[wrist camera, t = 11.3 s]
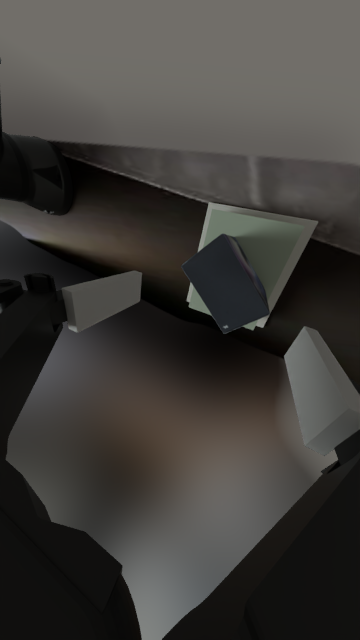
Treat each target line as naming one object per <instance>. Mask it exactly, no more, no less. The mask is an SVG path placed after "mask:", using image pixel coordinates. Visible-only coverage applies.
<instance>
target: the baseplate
mask: <svg viewBox="0 0 360 640" xmlns="http://www.w3.org/2000/svg"><path fill="white" fill-rule="evenodd" d="M212 209H215V210H221V211H226V212H232V213H237V214H242V215H248V216H253V217H259V218H264V219H270V220H275V221H280V222H286V223H291V224H297V225H302V226H305V227H304V229H303V231H302V233H301V235H300V237H299V239H298V241H297V243H296V245H295V247H294V249H293V251H292V253H291V255H290V257H289V259H288V261H287V263H286V265H285V267H284V269H283V271H282V273H281V275H280V277H279V279H278V281H277V283H276V285H275V287H274V289H273V291H272V293H271V295H270V297H269V299H268V306H269V311H270V313H271V311H272V309H273V308H274V306H275V304H276V302H277V300H278V298H279V296H280V294H281V292H282V290H283V288H284V287H285V285H286V283H287V281H288V279H289V277H290V275H291V273H292V271H293V269H294V268H295V266H296V264H297V262H298V260H299V258H300V256H301V254H302V252H303V250H304V249H305V247H306V245H307V243H308V241H309V239H310V237H311V235H312V233H313V231H314V230H315V228H316V226H317V224H318V222H319V221H314V220H308V219H303V218H297V217H291V216H285V215H280V214H274V213H268V212H262V211H257V210H251V209H245V208H239V207H234V206H228V205H222V204H216V203H211V202H209V205H208V210H207V214H206V218H205V223H204V227H203V231H202V236H201V240H200V245H199V249H198V252H199V251H200V250H201V249H202V248H203V245H204V241H205V237H206V233H207V229H208V225H209V220H210V216H211V212H212ZM193 287H194V286H193V285H192V283H191V284H190V288H189V293H188V297H187V301H188V302H190V299H191V295H192V291H193ZM268 317H269V315H268V316H266V317H263V318H261V319H259V320H258V321H257V323H256V326H259V327H262V328H263V327H264V325H265V323H266V321H267V319H268Z"/></svg>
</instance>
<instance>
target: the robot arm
mask: <svg viewBox="0 0 360 640" xmlns="http://www.w3.org/2000/svg"><path fill="white" fill-rule="evenodd" d="M0 64H1V60H0ZM72 198H73V185H72V179H71V174H70V171H69V168H68V165H67V163H66V161H65V159H64V157H63V155H62V154H61V152H60V151H59V150H58V149H57V148H56V147H55V146H54V145H53V144H52V143H50V142H48V141H46V140H43V139H41V138H38V137H34V136H33V137H30V136H21V135H10V134H6V133H4V132H2V118H1V97H0V199H5V200H11V201H18V202H23V203H25V204H27V205H29V206H32V207H34V208H36V209H38V210H41V211H43V212H45V213H47V214H51V215H59V216H60V215H64V214H65V213H67V211H68V210H69V208H70V206H71V203H72ZM141 277H142V273H140V272H137V271H131V272H127V273H123V274H119V275H115V276H110V277H106V278H102V279H98V280H94V281H89V282H85V283H81V284H77V285H73V286H69V287H65V288H62V290H60V291H56V288H55V283H54V277H53V276H52V275H49V274H44V273H34V274H27V275H25V276H24V278H25V281H26V285H27V288H28V290H27V291H26V290H23V289H22V285H21V283H20V282H19V281H15V280H9V279H3V280H0V640H142V638H141V632H140V626H139V622H138V618H137V614H136V610H135V606H134V602H133V600H132V597H131V594H130V591H129V588H128V586H127V584H126V582H125V580H124V578H123V576H122V574H121V573H122V565H121V564H120V563H119V562H118V561H117V560H116V559H115V558H114V557H112V556H111V555H110V554H109V553H108V552H107V551H106V550H105V549H103V548H102V547H101V546H100V545H99V544H98V543H97V542H96V541H95V540H94V539H92V538H91V537H90V536H89V535H88V534H87V533H86V532H84V531H80V530H77V529H74V528H70V527H67V526H64V525H60V524H57V523H53V522H51V520H50V517H49V515H48V512H47V510H46V507H45V505H44V504H43V503H42V501H41V500H40V499H39V497H38V496H37V495H36V493H35V492H34V490H33V489H32V488H31V486H30V485H29V484H28V482H27V481H26V479H25V478H24V477H23V475H22V474H21V473H20V472H18V471H17V470H16V469H15V468H14V467H13V466H12V465H11V464H10V463H8V462H7V461H6V460H5V459H6V454H7V443H8V437H9V434H10V432H11V430H12V428H13V426H14V424H15V422H16V420H17V418H18V416H19V414H20V412H21V410H22V408H23V406H24V404H25V402H26V400H27V398H28V396H29V394H30V392H31V390H32V388H33V386H34V384H35V382H36V380H37V378H38V376H39V374H40V372H41V370H42V368H43V366H44V364H45V362H46V360H47V358H48V356H49V354H50V352H51V350H52V348H53V346H54V344H55V342H56V340H57V338H58V336H59V334H60V332H61V331H62V328H63V324H62V322H65V321H68V327H69V329H71V330H73V331H75V332H77V333H78V332H80V331H82V330H84V329H86V328H88V327H90V326H92V325H94V324H96V323H98V322H100V321H102V320H104V319H106V318H108V317H110V316H112V315H114V314H116V313H118V312H119V311H122V310H124V309H125V308H127V307H129V306H131V305H133V304H135V303H137V302H139V301H140V291H141ZM284 358H285V362H286V366H287V370H288V375H289V380H290V384H291V389H292V393H293V397H294V402H295V406H296V411H297V415H298V420H299V424H300V428H301V432H302V437H303V442H304V446H305V447H308V448H309V449H311V450H314V451H316V452H318V453H320V454H322V455H324V456H325V455H327V454H328V453H329V452H331V451H332V450H334V449H335V451H336V454H337V457H338V460H337V461H336V462H334V463H333V464H331V465H330V466H328V467H327V468H325V469H324V470H322V471H321V472H322V473H323V474H322V475H321V477H320V478H319V479H318V480H317V481H316V482H315V483H314V484H313V485H312V486H311V487H310V488H309V489H308V490H307V491H306V492H305V494H304V495H303V496H302V497H301V498H300V499H299V500H298V501H297V502H296V503H295V504H294V505H293V507H291V509H290V510H289V511H288V512H287V513H286V514H285V515H284V516H283V517H282V518H281V519H280V520H279V521H278V522H277V523H276V525H275V526H274V527H273V528H272V529H271V530H270V531H269V532H268V533H267V534H266V535H265V536H264V537H263V538H262V539H261V540H260V542H259V543H258V544H257V545H256V546H255V547H254V548H253V549H252V550H251V551H250V552H249V553H248V554H247V555H246V556H245V558H244V559H243V560H242V561H241V562H240V563H239V564H238V565H237V566H236V567H235V568H234V569H233V571H231V572H230V574H229V575H228V576H227V577H226V578H225V579H224V580H223V581H222V582H221V583H220V584H219V585H218V586H217V587H216V589H215V590H214V591H213V592H212V593H211V594H210V595H209V596H208V597H207V598H206V599H205V600H204V601H203V602H202V603H201V604H199V605H198V606H197V607H196V608H194V609H193V610H191V611H190V612H189V613H188V614H187V615H185V616H184V617H183V618H182V619H181V620H180V621H179V622H178V623H177V624H176V625H175V626H174V627H173V628H172V629H171V630H170V631H169V632H168V633H167V634H166V635H165V636H164V638H163V639H162V640H360V386H359V385H357V384H356V383H355V382H354V381H353V380H352V379H350V378H348V377H347V375H346V374H345V372H344V371H343V369H342V368H341V366H340V365H339V363H338V361H337V360H336V358H335V357H334V355H333V354H332V352H331V351H330V349H329V348H328V346H327V345H326V343H325V342H324V340H323V339H322V337H321V336H320V334H319V333H318V331H317V330H314V329H311V328H308V327H305V326H304V328H303V329H302V331H301V332H300V334H299V335H298V337H297V338H296V339H295V341H294V342H293V344H292V345H291V347H290V348H289V350H288V351H287V353H286V354H285V356H284Z"/></svg>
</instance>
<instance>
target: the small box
mask: <svg viewBox="0 0 360 640" xmlns="http://www.w3.org/2000/svg"><path fill="white" fill-rule="evenodd" d="M181 267H182V269H183V270H184V272H185V274H186V275H187V277H188V278H189V280H190V282H191V283H192V285H193V286H194V288H195V289H196V291H197V293H198V294H199V296H200V297H201V299H202V300H203V302H204V304H205V305H206V307H207V308H208V310H209V311H210V313H211V315H212V316H213V318H214V319H215V321H216V323H217V324H218V326H219V327H220V329H221V330H222V332H223V333H224V334H226V333H228V332H230V331H233V330H235V329H237V328H240V327H242V326H244V325H247V324H249V323H252V322H254V321H256V320H259V319H261V318H263V317H266V316H268V315H270V311H269V306H268V301H267V296H266V291H265V289H264V287H263V285H262V283H261V281H260V279H259V277H258V276H257V274H256V272H255V270H254V268H253V267H252V265H251V263H250V261H249V260H248V258H247V256H246V254H245V253H244V251H243V249H242V248H241V246H240V244H239V243H238V241H237V240H236V238H235V237H233V236H229V235H226V234H224V233H222V234H221V235H219V236H218V237H217V238H215V239H214V240H213V241H211V242H210V243H209V244H208V245H206V246H205V247H204V248H202V249H201V250H200V251H199V252H198V253H196V254H195V255H194V256H193V257H191V258H190V259H189V260H188V261H186V262H185V263H184V264H183V265H182V266H181Z"/></svg>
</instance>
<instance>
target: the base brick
mask: <svg viewBox="0 0 360 640" xmlns="http://www.w3.org/2000/svg"><path fill="white" fill-rule="evenodd" d="M304 227H305V226H302V225H297V224H291V223H286V222H280V221H275V220H270V219H264V218H259V217H253V216H248V215H242V214H237V213H232V212H226V211H221V210H215V209H212V212H211V216H210V220H209V225H208V229H207V233H206V237H205V241H204V245H203V248H204V247H205V246H206V245H208V244H209V243H210V242H211V241H213V240H214V239H215V238H217V237H218V236H219V235H221V234H222V233H224V234H226V235H229V236H233V237H235V238H236V240H237V241H238V243H239V244H240V246H241V248H242V249H243V251H244V253H245V254H246V256H247V258H248V260H249V261H250V263H251V265H252V267H253V268H254V270H255V272H256V274H257V276H258V277H259V279H260V281H261V283H262V285H263V287H264V289H265V291H266V296H267V301H268V299H269V297H270V295H271V293H272V291H273V289H274V287H275V285H276V283H277V281H278V279H279V277H280V275H281V273H282V271H283V269H284V267H285V265H286V263H287V261H288V259H289V257H290V255H291V253H292V251H293V249H294V247H295V245H296V243H297V241H298V239H299V237H300V235H301V233H302V231H303V229H304ZM189 307H190V308H193V309H196V310H198V311H201V312H204V313H207V314H209V315H211V313H210V311H209V310H208V308H207V307H206V305H205V304H204V302H203V300H202V299H201V297H200V296H199V294H198V293H197V291H196V289H195V288H194V287H193V291H192V295H191V299H190V304H189ZM257 321H258V320H256V321H254V322H252V323H249V324H247V325H244V326H243V327H246V328H248V329H251V330H254V328H255V326H256V323H257Z"/></svg>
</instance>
